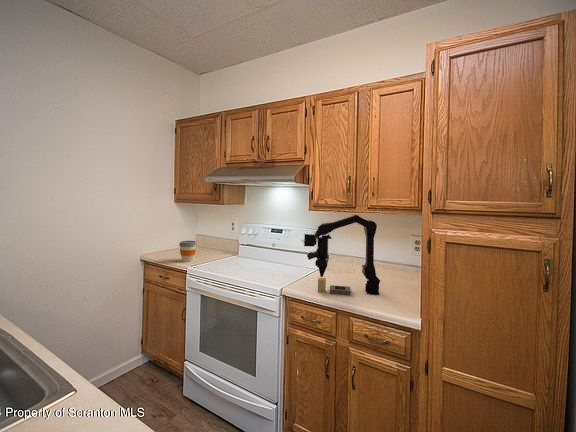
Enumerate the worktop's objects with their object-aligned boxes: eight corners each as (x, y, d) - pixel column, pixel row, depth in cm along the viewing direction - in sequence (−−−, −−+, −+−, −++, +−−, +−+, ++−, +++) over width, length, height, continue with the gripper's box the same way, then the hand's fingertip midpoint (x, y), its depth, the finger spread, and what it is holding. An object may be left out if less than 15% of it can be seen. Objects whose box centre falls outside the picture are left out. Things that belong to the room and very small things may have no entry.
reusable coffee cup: (183, 263, 219) (183, 243, 217) (177, 260, 228) (176, 241, 227) (199, 261, 227) (198, 242, 226) (192, 258, 236) (192, 240, 235)
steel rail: (350, 291, 160) (350, 286, 160) (350, 295, 153) (350, 291, 153) (330, 289, 163) (330, 285, 162) (329, 294, 155) (329, 289, 155)
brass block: (325, 290, 161) (325, 278, 161) (325, 292, 157) (325, 280, 157) (318, 289, 162) (318, 277, 161) (317, 292, 158) (317, 279, 158)
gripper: (309, 243, 168) (309, 269, 170) (305, 249, 150) (305, 278, 151) (329, 244, 166) (328, 270, 168) (327, 250, 148) (326, 279, 149)
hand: (322, 274), depth 159 cm, fingers open, 9 cm apart
